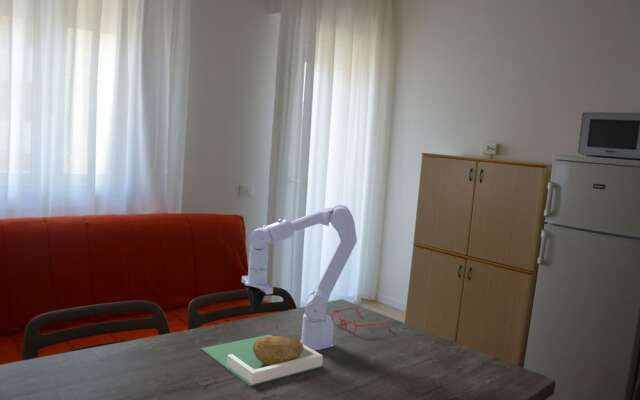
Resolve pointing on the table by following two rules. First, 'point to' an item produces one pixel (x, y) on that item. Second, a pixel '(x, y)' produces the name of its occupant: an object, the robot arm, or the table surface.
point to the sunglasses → (352, 321)
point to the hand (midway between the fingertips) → (255, 310)
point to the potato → (277, 349)
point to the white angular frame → (275, 366)
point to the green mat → (241, 356)
